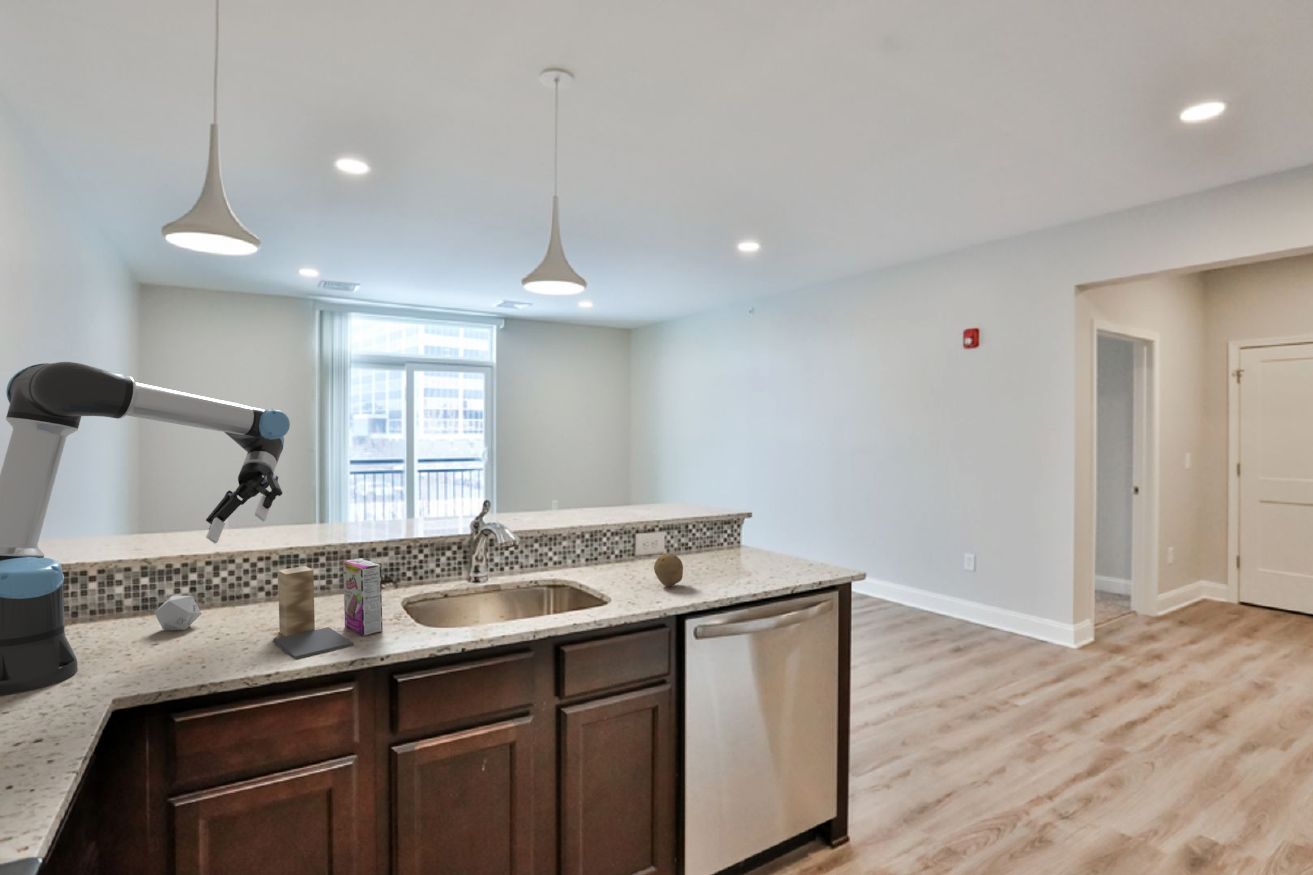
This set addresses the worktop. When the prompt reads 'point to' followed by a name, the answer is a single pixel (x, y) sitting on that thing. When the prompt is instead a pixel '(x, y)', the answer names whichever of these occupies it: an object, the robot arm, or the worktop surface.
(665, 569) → the brown oval lump
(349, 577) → the candy bar box
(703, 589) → the worktop surface
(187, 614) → the die
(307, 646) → the mat
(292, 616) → the wooden block
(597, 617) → the worktop surface
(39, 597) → the robot arm
